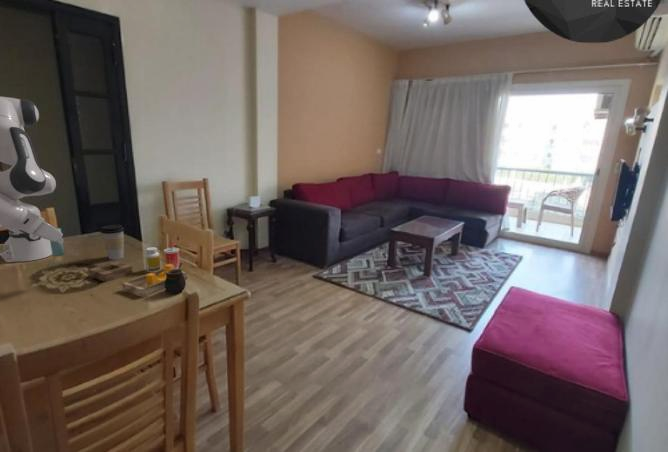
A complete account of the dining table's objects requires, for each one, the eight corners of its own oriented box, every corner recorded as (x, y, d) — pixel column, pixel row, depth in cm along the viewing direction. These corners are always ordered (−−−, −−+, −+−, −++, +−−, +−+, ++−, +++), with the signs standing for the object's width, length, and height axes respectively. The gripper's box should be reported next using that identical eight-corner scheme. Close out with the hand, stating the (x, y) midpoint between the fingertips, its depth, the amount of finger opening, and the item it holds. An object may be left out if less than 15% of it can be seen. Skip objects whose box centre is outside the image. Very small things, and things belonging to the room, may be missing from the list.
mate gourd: (160, 294, 128) (158, 269, 125) (172, 286, 135) (170, 262, 132) (178, 296, 127) (176, 270, 124) (190, 287, 134) (188, 263, 132)
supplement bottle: (163, 269, 150) (161, 248, 148) (151, 273, 146) (149, 251, 143) (155, 266, 153) (153, 245, 151) (143, 270, 149) (141, 249, 146)
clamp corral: (123, 290, 130) (122, 283, 129) (168, 273, 146) (167, 266, 146) (142, 297, 125) (141, 289, 124) (187, 279, 141) (186, 272, 141)
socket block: (89, 276, 141) (88, 269, 140) (116, 267, 151) (115, 261, 150) (105, 281, 136) (104, 274, 136) (132, 272, 146) (131, 266, 145)
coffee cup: (117, 261, 157) (113, 230, 154) (99, 260, 159) (94, 228, 155) (132, 255, 166) (128, 224, 163) (114, 253, 168) (110, 223, 164)
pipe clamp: (165, 278, 142) (163, 263, 140) (174, 279, 141) (173, 264, 140) (143, 290, 131) (142, 274, 129) (153, 291, 130) (152, 275, 128)
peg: (50, 255, 130) (46, 229, 127) (61, 252, 133) (57, 227, 130) (55, 257, 128) (51, 231, 126) (66, 254, 131) (62, 229, 129)
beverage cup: (177, 272, 148) (174, 240, 145) (162, 271, 148) (159, 240, 145) (183, 266, 154) (180, 236, 151) (169, 266, 154) (166, 236, 151)
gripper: (0, 223, 122) (38, 242, 133) (29, 233, 113) (67, 253, 124) (13, 208, 125) (49, 229, 136) (43, 217, 116) (79, 238, 127)
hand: (58, 240), depth 130 cm, fingers closed on peg, 4 cm apart
